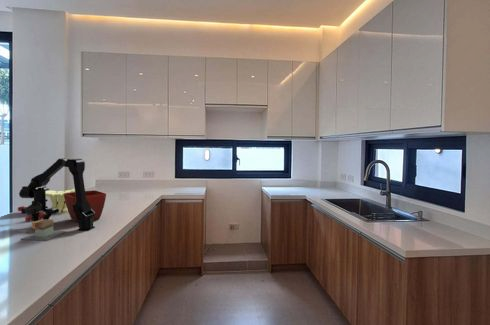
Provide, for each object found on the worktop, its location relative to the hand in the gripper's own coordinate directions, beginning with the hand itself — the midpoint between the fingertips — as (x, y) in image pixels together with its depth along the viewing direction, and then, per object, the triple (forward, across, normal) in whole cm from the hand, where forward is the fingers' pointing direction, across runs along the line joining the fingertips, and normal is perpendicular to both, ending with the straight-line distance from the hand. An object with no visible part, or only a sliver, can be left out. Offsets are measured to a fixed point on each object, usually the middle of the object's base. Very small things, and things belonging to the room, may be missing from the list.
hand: (40, 225), depth 171 cm
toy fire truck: (+1, -16, +13) cm, 21 cm away
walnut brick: (-3, +14, -15) cm, 21 cm away
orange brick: (+1, 0, 0) cm, 1 cm away
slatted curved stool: (+1, -18, +41) cm, 45 cm away
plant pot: (+1, +15, +19) cm, 24 cm away
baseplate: (+1, +14, -15) cm, 21 cm away
